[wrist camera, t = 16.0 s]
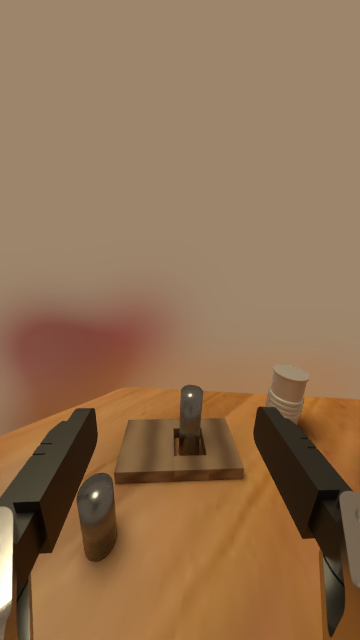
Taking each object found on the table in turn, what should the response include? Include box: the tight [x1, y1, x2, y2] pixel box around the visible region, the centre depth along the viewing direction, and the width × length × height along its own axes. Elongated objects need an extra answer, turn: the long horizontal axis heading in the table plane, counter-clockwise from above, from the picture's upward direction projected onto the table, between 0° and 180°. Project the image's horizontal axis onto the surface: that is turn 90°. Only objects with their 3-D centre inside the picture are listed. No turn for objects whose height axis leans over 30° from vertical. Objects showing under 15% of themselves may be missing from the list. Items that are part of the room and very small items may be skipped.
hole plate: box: [114, 418, 244, 484], centre depth 36 cm, size 22×11×2 cm, turn 93°
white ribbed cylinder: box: [266, 364, 309, 425], centre depth 41 cm, size 7×7×15 cm
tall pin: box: [179, 385, 203, 456], centre depth 35 cm, size 4×4×14 cm
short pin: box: [77, 473, 117, 562], centre depth 23 cm, size 4×4×9 cm
